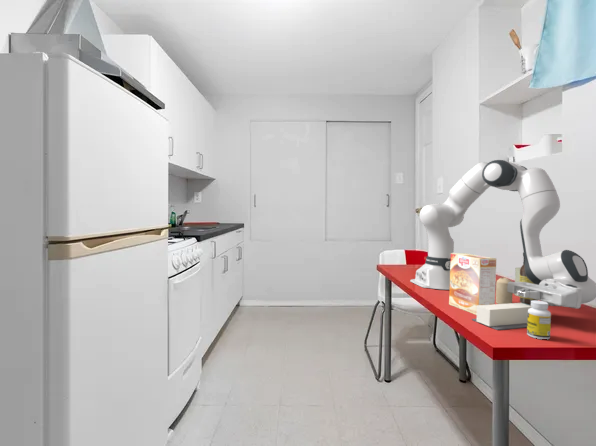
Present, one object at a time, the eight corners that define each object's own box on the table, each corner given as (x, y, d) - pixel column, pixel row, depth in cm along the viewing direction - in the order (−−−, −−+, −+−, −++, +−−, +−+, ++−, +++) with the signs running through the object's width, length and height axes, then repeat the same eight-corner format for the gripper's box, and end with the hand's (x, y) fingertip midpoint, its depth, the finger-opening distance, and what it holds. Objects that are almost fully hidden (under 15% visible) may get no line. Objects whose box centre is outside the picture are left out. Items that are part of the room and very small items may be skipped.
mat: (471, 320, 112) (471, 318, 112) (510, 317, 117) (511, 315, 117) (497, 330, 103) (497, 328, 103) (539, 326, 107) (539, 325, 107)
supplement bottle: (522, 332, 101) (524, 299, 101) (542, 334, 100) (544, 300, 100) (533, 339, 96) (534, 304, 95) (554, 340, 95) (556, 304, 95)
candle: (514, 306, 132) (515, 279, 131) (498, 305, 133) (499, 278, 133) (508, 302, 137) (509, 277, 137) (493, 301, 138) (494, 276, 138)
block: (521, 317, 115) (476, 321, 110) (521, 302, 115) (477, 305, 110) (535, 322, 110) (489, 326, 105) (535, 306, 110) (489, 309, 105)
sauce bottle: (531, 301, 140) (533, 251, 140) (541, 305, 134) (544, 253, 133) (515, 300, 140) (517, 251, 140) (525, 304, 134) (527, 253, 134)
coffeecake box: (448, 304, 132) (449, 253, 131) (464, 303, 134) (465, 252, 133) (477, 316, 117) (479, 258, 117) (495, 315, 119) (497, 257, 119)
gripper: (525, 276, 125) (494, 278, 121) (586, 289, 106) (552, 291, 102) (524, 294, 125) (493, 296, 121) (585, 309, 106) (551, 312, 102)
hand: (520, 293), depth 111 cm, fingers closed
